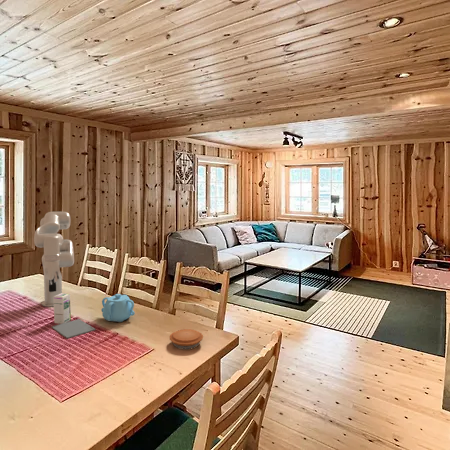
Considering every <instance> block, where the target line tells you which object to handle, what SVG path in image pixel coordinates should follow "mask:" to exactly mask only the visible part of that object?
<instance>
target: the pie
mask: <svg viewBox="0 0 450 450" xmlns="http://www.w3.org/2000/svg"><path fill="white" fill-rule="evenodd" d="M203 338H204V336H203V334H202V332H200V331H197V330H195V329H189V328H186V329H184V328H183V329H180V330H176V331H174V332H173V331H172V333H171V334H169V340H170V341H171V342H172V344H173V345H174V347H175V348H177V349H180V350H192V349H195V348H196V346H197V347H198V346H199V344H200V343H201V341H203ZM194 347H195V348H194ZM191 348H192V349H191Z"/></svg>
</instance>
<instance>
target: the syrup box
mask: <svg viewBox="0 0 450 450" xmlns="http://www.w3.org/2000/svg"><path fill="white" fill-rule="evenodd" d="M53 298H54V306H53V319H54V320H53V322H54V323H55V324H57V325H59V324H63V323H66V322H70V321H72V318H71V317H72V316H71V294H70V293H63V292H62V293H61V294H59V295H56V296H54V297H53Z"/></svg>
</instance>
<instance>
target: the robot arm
mask: <svg viewBox="0 0 450 450" xmlns="http://www.w3.org/2000/svg"><path fill="white" fill-rule="evenodd" d="M39 225H40V226H39V227H38V228H37V229H36V230H35V232H34V237H33V244H34V245H35V246H36V247H37V248H43V254H42V257H41V262H42V263H41V264H42V268H43V269H42V270H43V285H44V287H43V288H44V290H43V292H44V295H43V296H44V300H43V301H41V306H43V307H46V308H47V307H50V308H51V307H54V298H53V297H54V296H56V295H59V294H61V293H63V284H62V283H63V281H62V280H63V277H62V276H63V274H62V273H61V270H60V269H61V268H68V267H72V266H74V264H75V251H74V243H73V241H72V240H71V239H64V237H63V236H62V234H60V233H58V232H59V231H60V230H67V229H69V228H70V226H71V215H70V213H69V212H67V211H48V212H46V213H45V215H44V217H42V218H41V219H40V222H39Z"/></svg>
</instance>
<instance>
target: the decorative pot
mask: <svg viewBox="0 0 450 450" xmlns="http://www.w3.org/2000/svg"><path fill="white" fill-rule="evenodd" d="M105 300H106V301H105ZM101 304H102V308H101V309H100V310H101V312H102V317H103V318H104V320H106V321H108V322H118V323H122V322H123V321H126V320H127V319H130V317H132V316H134V315H136V314H135V311H134V307H135V303H134V301H133V300H132V299H130V297H129V296H128V295H127V294H121V293H116V294H114V295H112V296H109V297H107V296H106V297H104V298H103V299H102V300H101Z"/></svg>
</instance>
